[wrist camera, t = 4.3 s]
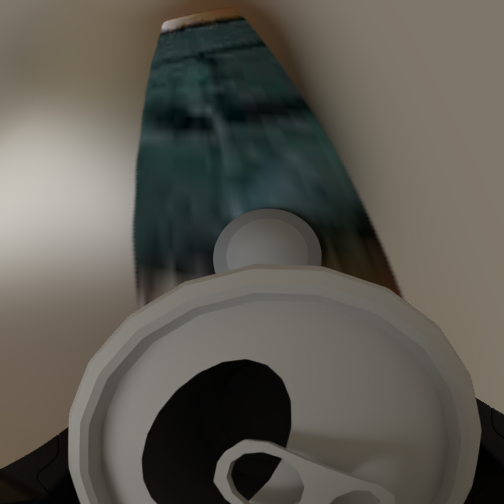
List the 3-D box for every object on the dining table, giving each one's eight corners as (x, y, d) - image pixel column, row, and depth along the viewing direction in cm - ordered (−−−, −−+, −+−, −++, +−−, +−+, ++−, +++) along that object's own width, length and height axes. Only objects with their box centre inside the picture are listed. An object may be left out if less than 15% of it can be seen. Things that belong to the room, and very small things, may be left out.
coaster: (327, 304, 20) (328, 301, 20) (214, 312, 21) (213, 310, 20) (312, 209, 24) (313, 204, 23) (215, 217, 24) (213, 212, 23)
